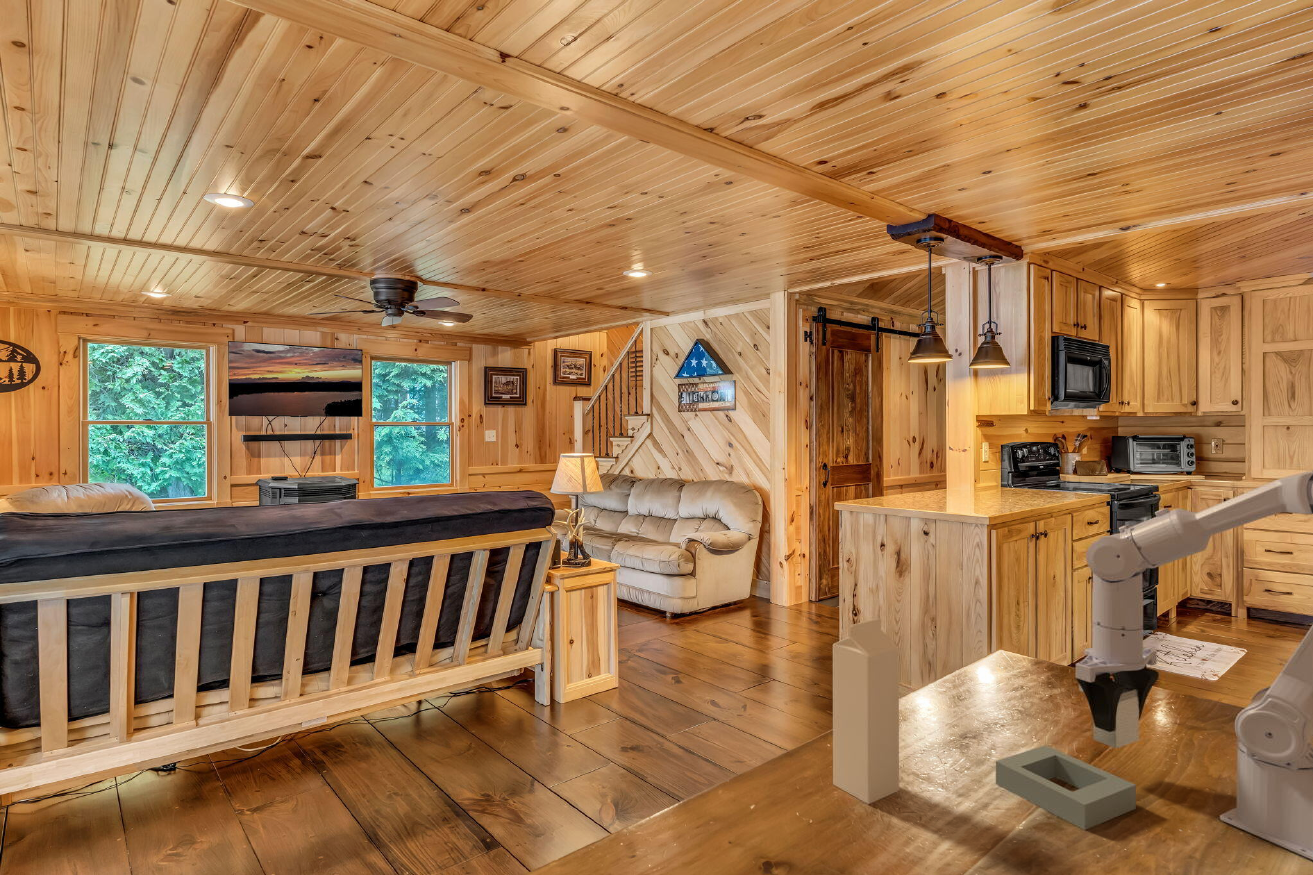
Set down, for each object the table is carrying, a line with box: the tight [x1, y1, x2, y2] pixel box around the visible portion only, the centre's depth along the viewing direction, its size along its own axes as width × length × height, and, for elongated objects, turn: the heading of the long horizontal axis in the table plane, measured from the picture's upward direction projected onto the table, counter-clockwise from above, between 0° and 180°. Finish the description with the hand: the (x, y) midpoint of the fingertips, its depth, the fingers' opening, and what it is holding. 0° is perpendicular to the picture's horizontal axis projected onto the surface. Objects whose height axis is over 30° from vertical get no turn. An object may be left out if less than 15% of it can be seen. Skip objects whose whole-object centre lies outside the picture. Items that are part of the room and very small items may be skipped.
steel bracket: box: [1078, 681, 1140, 749], centre depth 97 cm, size 5×5×7 cm
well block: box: [995, 744, 1137, 831], centre depth 91 cm, size 12×10×3 cm
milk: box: [832, 618, 900, 805], centre depth 93 cm, size 6×6×22 cm
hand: (1116, 724), depth 96 cm, fingers closed on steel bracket, 5 cm apart
